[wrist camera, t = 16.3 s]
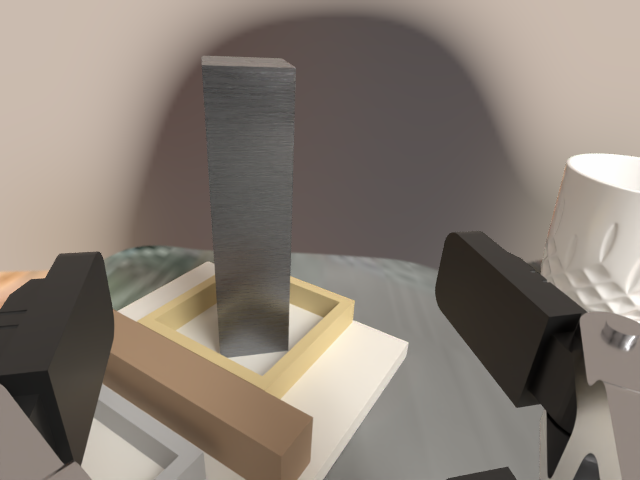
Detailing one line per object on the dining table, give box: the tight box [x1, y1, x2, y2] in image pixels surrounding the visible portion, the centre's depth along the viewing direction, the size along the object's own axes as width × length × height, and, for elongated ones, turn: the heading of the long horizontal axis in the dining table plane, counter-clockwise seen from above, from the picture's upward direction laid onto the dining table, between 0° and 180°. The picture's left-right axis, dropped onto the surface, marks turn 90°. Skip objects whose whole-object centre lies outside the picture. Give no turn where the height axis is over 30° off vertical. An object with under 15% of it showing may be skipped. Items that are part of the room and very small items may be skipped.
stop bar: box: [202, 56, 296, 358], centre depth 22 cm, size 4×4×14 cm
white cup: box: [541, 154, 640, 323], centre depth 27 cm, size 8×8×10 cm
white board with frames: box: [81, 261, 408, 480], centre depth 20 cm, size 20×15×4 cm
